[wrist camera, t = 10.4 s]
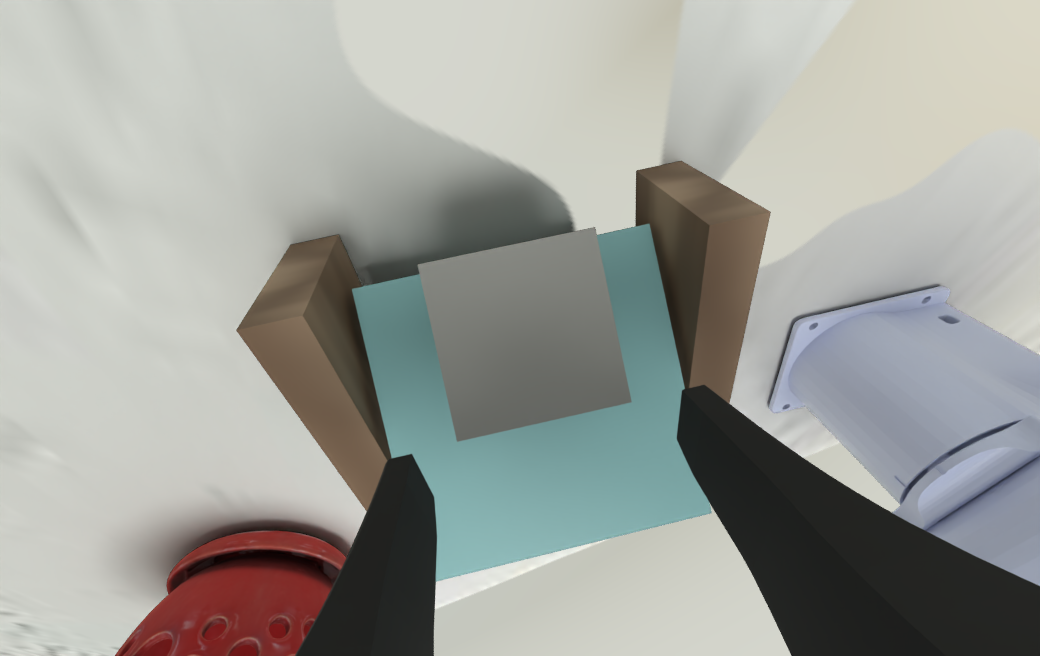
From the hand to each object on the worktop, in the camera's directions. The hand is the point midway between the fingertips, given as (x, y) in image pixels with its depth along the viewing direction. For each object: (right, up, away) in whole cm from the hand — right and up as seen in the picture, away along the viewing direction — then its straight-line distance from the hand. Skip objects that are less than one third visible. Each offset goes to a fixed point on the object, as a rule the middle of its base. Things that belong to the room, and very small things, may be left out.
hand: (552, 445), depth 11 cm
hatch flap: (0, 0, +9) cm, 9 cm away
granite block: (-1, +3, +5) cm, 6 cm away
